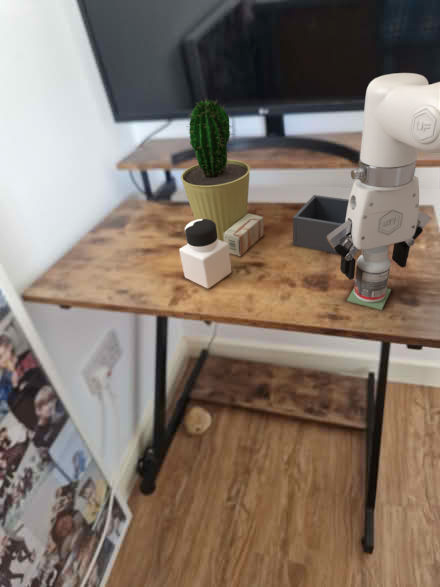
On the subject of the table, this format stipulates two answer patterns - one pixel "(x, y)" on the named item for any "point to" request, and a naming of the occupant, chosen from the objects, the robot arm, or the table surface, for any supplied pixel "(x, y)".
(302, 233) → the tub
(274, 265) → the table surface
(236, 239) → the small printed carton
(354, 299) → the mat
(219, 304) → the table surface
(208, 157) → the potted cactus
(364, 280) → the pill bottle
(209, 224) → the medicine bottle
